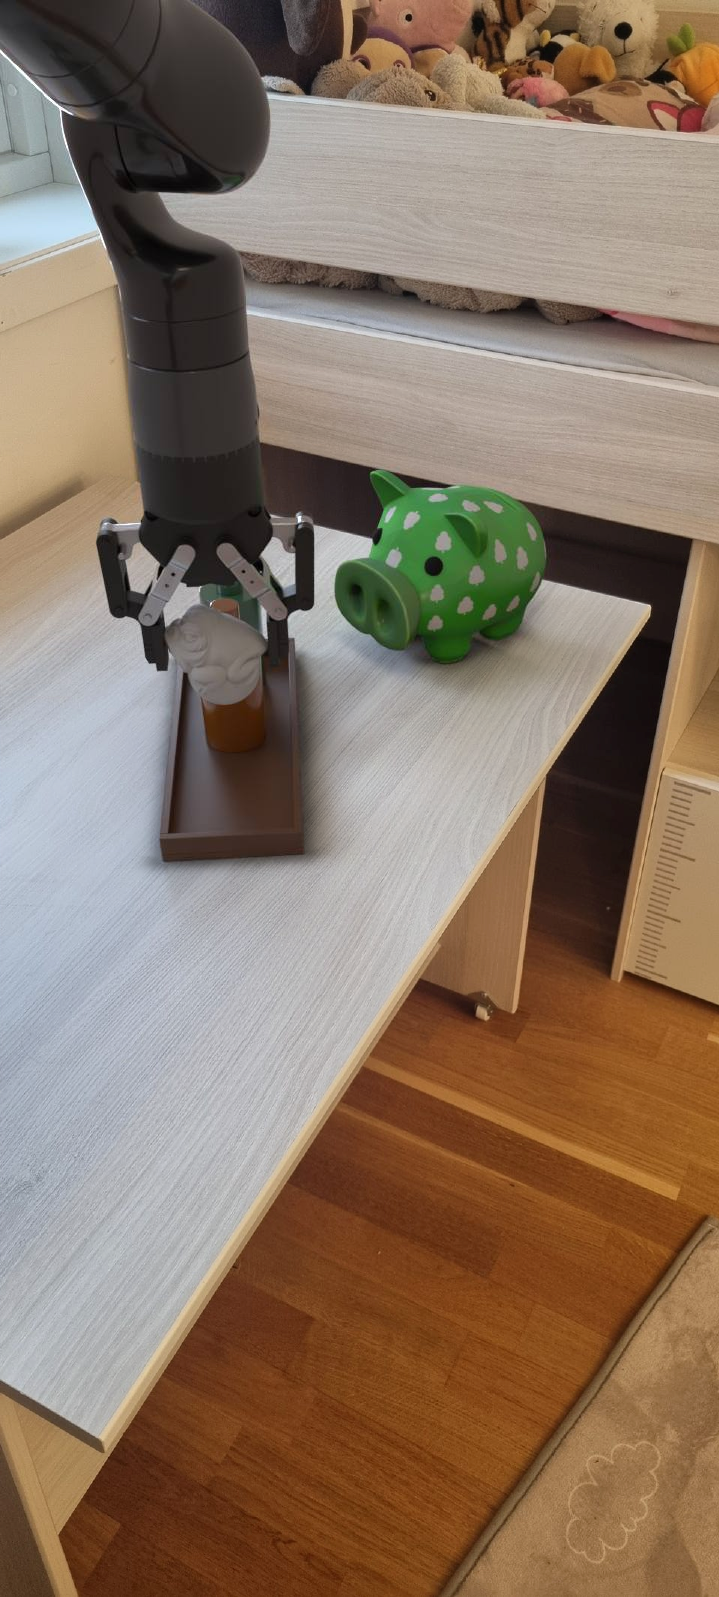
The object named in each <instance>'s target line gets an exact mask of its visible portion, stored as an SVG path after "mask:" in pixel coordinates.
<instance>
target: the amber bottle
mask: <svg viewBox="0 0 719 1597" xmlns="http://www.w3.org/2000/svg"><path fill="white" fill-rule="evenodd" d="M213 607H214V608H216V609H217V610H220V611H221V612H222V613H225V614H229V615H232V616H233V617H235V618H237V619H239V620H240V614H239V604H238V602H237V601H236V600H234V599H230V598H221V599H217V600H215V601H213V602H212V603H211V604H210V608H213ZM258 658H259V660H260V675H259V679H258V682H257V684H256V686H255V688H254V690H253V691H252V692H251V693H250V694H249V695H248V696H247V697H246V698H244V699H243V700H241V701H239V702H237V703H234V704H228V705H219V704H214V703H211V702H209V701H207V700H205V699H203V698H202V697H201V703H202V711H203V720H204V729H205V738H206V741H207V743H208V744H209V745H210V746H211V747H213V748H214V749H216V750H219V751H223V752H230V753H237V752H244V751H248V750H251V749H253V748H255V747H257V746H259V745H260V744H261V743H262V742H263V741H264V740H265V738H266V735H267V729H266V715H265V701H264V688H263V674H262V661H261V656H260V657H258Z"/></svg>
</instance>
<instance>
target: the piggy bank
mask: <svg viewBox="0 0 719 1597" xmlns="http://www.w3.org/2000/svg"><path fill="white" fill-rule="evenodd" d="M369 478H370V482H371V485H372V487H373V489H374V492H375V494H376V495H377V497H378V499H379V501H380V504H381V506H382V509H383V512H382V514H381V517H380V520H379V523H378V525H377V528H376V529H375V530H374V531H373V533H372V535H371V539H372V540H371V541H372V545H371V548H370V551H369V554H368V557H359V558H355V559H350V560H345V561H343V562H342V563H341V564H340V565H339V566H338V567H337V569H336V572H335V575H334V576H335V577H334V588H333V589H334V590H333V591H334V592H333V593H334V599H335V604H336V607H337V609H338V610H339V612H340V614H341V615H342V617H343V618H344V619H345V620H346V622H348V623H349V624H350V626H352V627H353V628H354V629H356V631H358V632H360V633H362V634H364V635H369V636H371V637H372V638H373V639H374V641H375V642H376V643H378V644H379V645H380V646H382V647H383V648H385V649H388V650H391V651H395V652H397V651H398V652H399V651H404V650H405V649H407V647H409V645H410V644H412V642H413V641H414V639H415V638H416V637H417V636H419V637H420V639H421V640H422V644H423V648H424V650H425V651H426V653H427V654H428V656H430V658H431V659H432V660H434V661H436V662H437V663H441V664H451V663H455V662H458V661H460V660H463V659H464V658H465V656H466V655H467V654H468V653H469V652H470V650H471V645H472V639H473V637H474V635H476V633H479V634H480V636H481V637H483V638H484V639H487V640H490V641H494V642H498V641H501V640H504V639H506V638H508V637H511V636H512V635H513V634H515V633H516V632H517V630H518V629H519V628H520V626H521V625H522V623H523V620H524V616H525V612H526V610H527V608H528V605H529V604H530V603H531V601H532V600H533V599H534V598H535V596H536V594H537V592H538V591H539V588H540V587H541V584H542V582H543V579H544V575H545V571H546V566H547V549H546V542H545V539H544V538H545V537H544V533H543V531H542V528H541V525H540V524H539V522H538V520H537V518H536V517H535V515H534V514H533V513H532V511H531V510H530V509H528V508H527V507H526V506H525V505H524V504H523V503H522V502H520V501H519V500H517V499H515V497H513V496H511V495H509V494H507V493H506V492H502V491H499V490H496V489H494V488H490V487H483V486H477V485H468V484H456V485H452V486H449V487H444V488H443V487H410V486H409V485H407V484H406V483H405V482H404V481H403V480H401V479H400V478H399V477H398V476H396V475H395V474H393V473H391V472H389V471H387V470H385V469H376V470H373V471H371V472H370V474H369Z"/></svg>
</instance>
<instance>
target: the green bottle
mask: <svg viewBox="0 0 719 1597" xmlns="http://www.w3.org/2000/svg"><path fill="white" fill-rule="evenodd" d="M198 596H199V604H205V605H206V606H207V607H208V608H210V604H211V603H212V602H213V601H215V600H217V599H221V598H230V599H234V600H236V601H237V602H238V604H239V614H240V620H242V621H244V622H245V623H247V624H248V625H250V626H251V627H253V628H254V629H256V630H257V631H259V632H260V633H261V634H262V635H263V636H264V627H263V626H264V624H263V613H262V605H261V604H260V603H259V601H258V600H257V599H254V598H253V597H252V596H251V595H250V594H249V592H248V591H247V590H246V589H245V587H244V586H243V585H242V584H241V582H240V581H237V582H235V585H231V586H221V585H216V584H207V585H203V586H200V587H199V589H198ZM261 661H262V674H263V687H264V686H265V684H266V666H265V653H263V654H262V655H261Z"/></svg>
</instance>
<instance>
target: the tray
mask: <svg viewBox="0 0 719 1597" xmlns="http://www.w3.org/2000/svg"><path fill="white" fill-rule="evenodd" d="M265 639H266V640H267V643H268V638H265ZM296 656H297V655H296V639H295V637H289V653H288V656H287V658H280V666H276V667H270V665H269V651H268V650H267V651H266V652H265V666H266V684H265V686H264V687H263V688H264V701H265V715H266V729H267V735H266V738H265V740H264V741H263V742H262V743H261V744H260V745H259V746H257V747H255V748H253V749H251V750H248V751H244V752H237V753H230V752H223V751H219V750H216V749H214V748H213V747H211V746H210V745H209V744H208V743H207V741H206V738H205V729H204V720H203V711H202V703H201V696H200V695H198V693H197V692H196V691H195V690H194V689H193V687H192V685H191V683H190V681H189V678H188V673H187V672H183V671H182V669H181V668H180V666H179V664H178V663H177V667H176V675H175V676H176V677H175V686H174V694H173V695H174V696H173V705H172V706H173V707H172V715H171V723H170V725H171V726H170V733H169V743H168V744H169V746H168V752H167V764H166V773H165V780H164V782H165V783H164V792H163V802H162V809H161V821H160V828H159V830H160V831H159V838H158V839H159V846H160V852H161V859H162V862H175V861H177V862H178V861H194V860H195V861H197V860H214V859H215V860H216V859H232V858H233V859H234V858H253V857H273V856H274V857H275V856H290V855H293V856H294V855H304V854H305V847H304V844H305V843H304V824H303V801H302V800H303V799H302V798H303V797H302V779H301V778H302V777H301V776H302V775H301V754H300V752H301V750H300V731H299V729H300V727H299V726H300V725H299V707H298V706H299V704H298V684H297V683H298V682H297V661H296V660H297V659H296Z"/></svg>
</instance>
